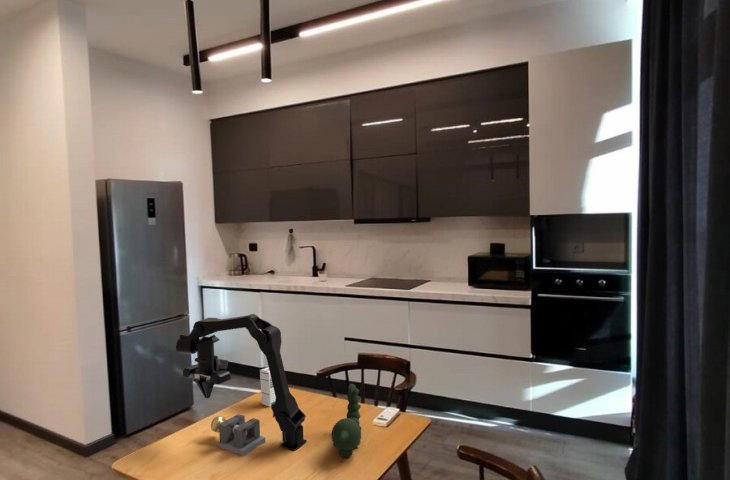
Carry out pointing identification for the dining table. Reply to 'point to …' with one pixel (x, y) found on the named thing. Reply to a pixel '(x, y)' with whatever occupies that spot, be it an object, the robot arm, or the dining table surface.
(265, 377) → the syrup box
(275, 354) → the robot arm
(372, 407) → the dining table surface
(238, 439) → the bearing bracket
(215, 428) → the shaft
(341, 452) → the toy figurine
